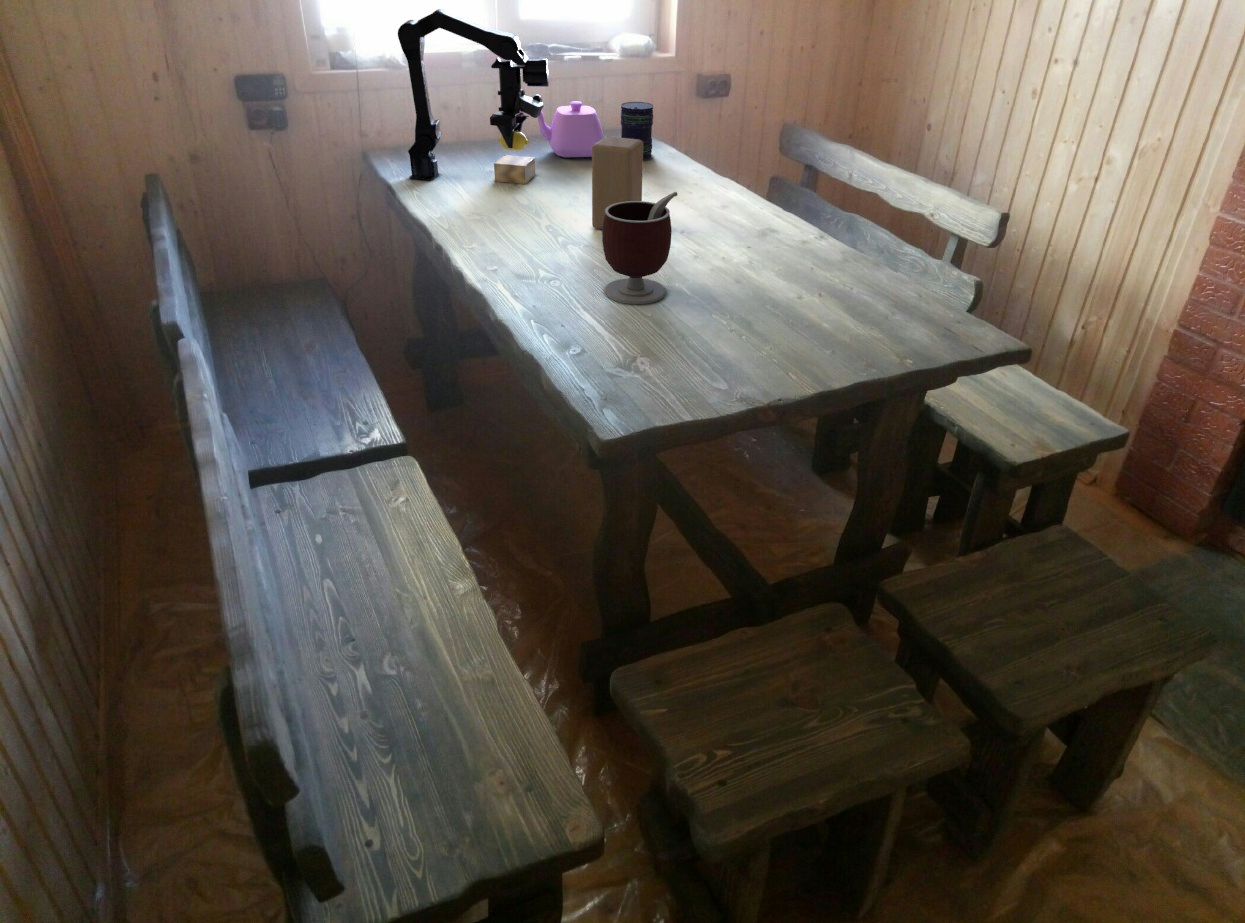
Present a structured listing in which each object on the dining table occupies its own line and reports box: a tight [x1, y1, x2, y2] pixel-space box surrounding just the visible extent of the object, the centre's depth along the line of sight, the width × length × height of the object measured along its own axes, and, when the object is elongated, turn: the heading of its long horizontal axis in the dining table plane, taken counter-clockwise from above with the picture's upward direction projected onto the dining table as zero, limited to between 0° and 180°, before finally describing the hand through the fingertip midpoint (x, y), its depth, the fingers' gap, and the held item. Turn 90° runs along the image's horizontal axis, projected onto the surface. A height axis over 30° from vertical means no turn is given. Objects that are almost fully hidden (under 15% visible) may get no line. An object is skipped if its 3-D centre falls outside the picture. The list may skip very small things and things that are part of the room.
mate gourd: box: [601, 191, 678, 305], centre depth 177 cm, size 16×14×20 cm
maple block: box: [493, 154, 536, 185], centre depth 247 cm, size 9×9×5 cm
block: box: [591, 135, 644, 230], centre depth 211 cm, size 10×10×20 cm
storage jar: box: [620, 101, 654, 162], centre depth 265 cm, size 10×10×15 cm
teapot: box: [536, 100, 604, 159], centre depth 268 cm, size 23×21×15 cm
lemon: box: [497, 131, 530, 151], centre depth 243 cm, size 9×5×5 cm, turn 77°
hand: (513, 145), depth 243 cm, fingers closed on lemon, 5 cm apart
